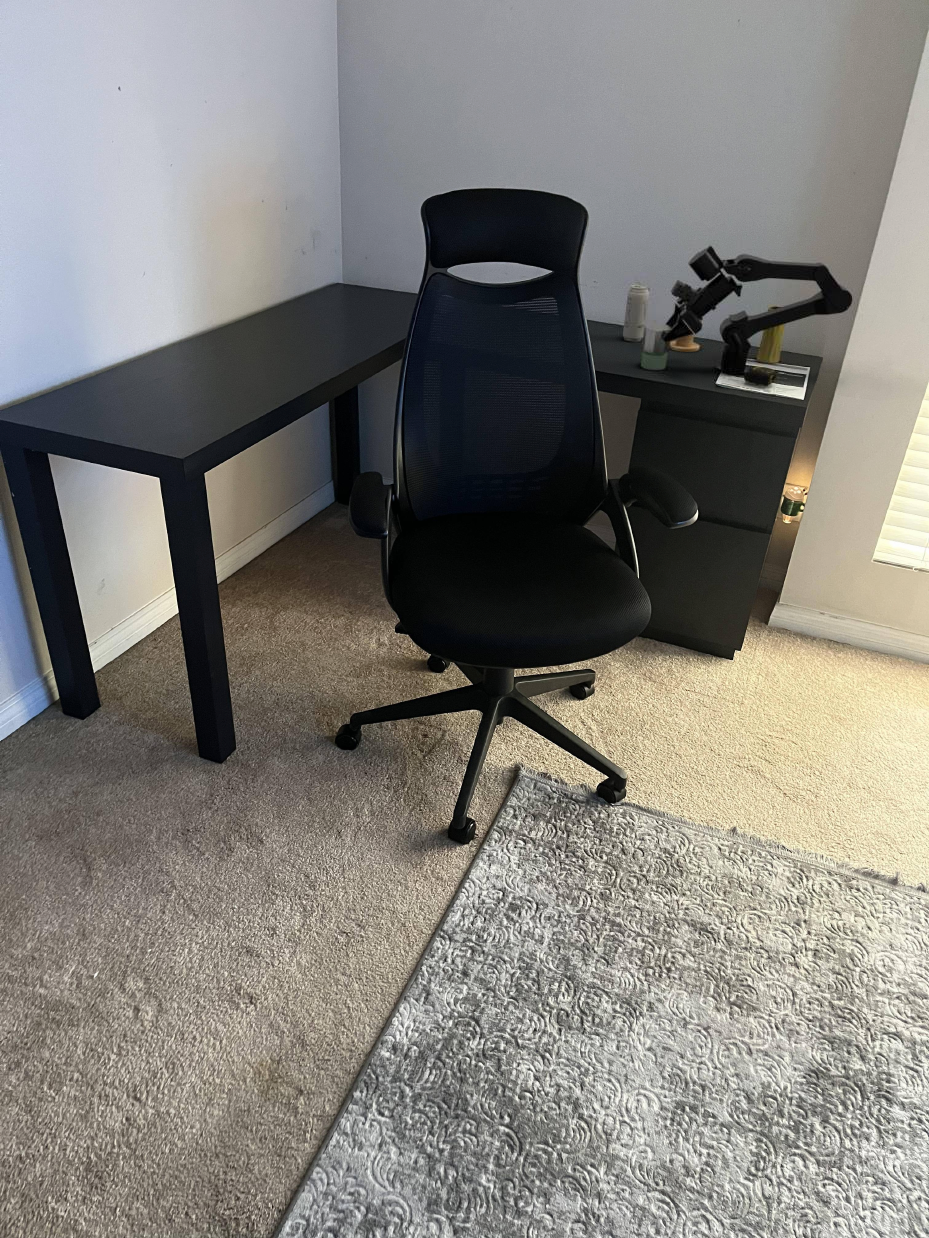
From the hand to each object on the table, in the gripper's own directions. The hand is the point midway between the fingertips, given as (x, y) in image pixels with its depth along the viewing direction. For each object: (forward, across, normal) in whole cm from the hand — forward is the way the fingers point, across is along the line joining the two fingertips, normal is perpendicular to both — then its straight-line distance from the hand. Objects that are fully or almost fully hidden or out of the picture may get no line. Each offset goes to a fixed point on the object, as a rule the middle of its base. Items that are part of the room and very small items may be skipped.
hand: (662, 336), depth 234 cm
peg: (0, -21, +12) cm, 24 cm away
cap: (+4, 0, +2) cm, 4 cm away
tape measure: (-12, +11, +24) cm, 29 cm away
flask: (+7, 0, +5) cm, 8 cm away
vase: (-16, -13, +28) cm, 34 cm away
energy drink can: (+10, -27, +1) cm, 29 cm away
